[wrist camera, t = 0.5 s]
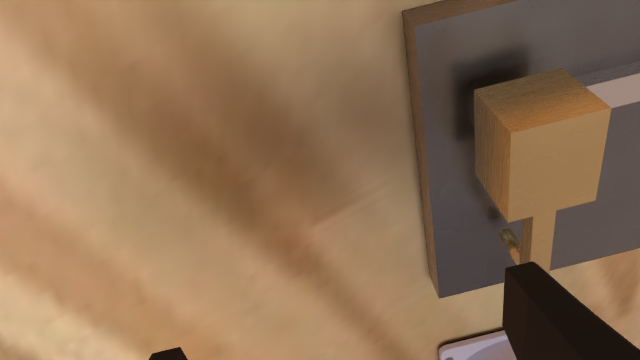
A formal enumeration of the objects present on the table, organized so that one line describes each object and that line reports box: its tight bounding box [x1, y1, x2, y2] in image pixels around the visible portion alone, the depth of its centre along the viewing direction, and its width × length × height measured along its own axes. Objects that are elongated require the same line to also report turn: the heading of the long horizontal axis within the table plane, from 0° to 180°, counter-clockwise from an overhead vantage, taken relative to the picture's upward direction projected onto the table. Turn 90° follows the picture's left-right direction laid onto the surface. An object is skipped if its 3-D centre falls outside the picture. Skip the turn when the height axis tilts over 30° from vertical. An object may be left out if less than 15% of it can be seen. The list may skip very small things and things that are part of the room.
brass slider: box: [474, 68, 611, 274], centre depth 19 cm, size 8×3×3 cm, turn 11°
